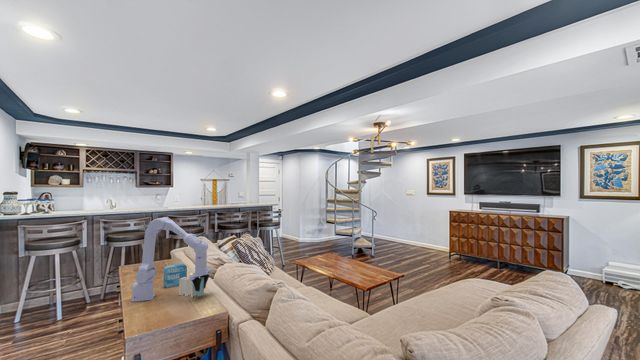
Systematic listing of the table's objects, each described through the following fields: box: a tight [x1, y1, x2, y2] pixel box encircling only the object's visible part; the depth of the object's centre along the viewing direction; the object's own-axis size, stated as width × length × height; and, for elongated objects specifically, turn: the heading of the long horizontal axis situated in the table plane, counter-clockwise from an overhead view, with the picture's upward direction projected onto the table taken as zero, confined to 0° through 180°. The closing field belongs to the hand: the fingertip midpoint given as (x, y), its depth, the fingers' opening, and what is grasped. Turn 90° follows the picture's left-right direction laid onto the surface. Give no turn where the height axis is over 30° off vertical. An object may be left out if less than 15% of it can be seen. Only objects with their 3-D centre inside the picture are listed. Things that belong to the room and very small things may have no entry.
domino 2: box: [184, 277, 191, 297], centre depth 157 cm, size 1×4×9 cm, turn 162°
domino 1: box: [178, 277, 188, 296], centre depth 158 cm, size 1×4×9 cm, turn 162°
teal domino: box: [196, 277, 205, 297], centre depth 154 cm, size 1×4×9 cm, turn 162°
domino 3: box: [190, 280, 197, 298], centre depth 155 cm, size 1×4×9 cm, turn 162°
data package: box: [163, 263, 188, 289], centre depth 173 cm, size 12×4×12 cm, turn 133°
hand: (200, 289), depth 154 cm, fingers closed on teal domino, 4 cm apart
